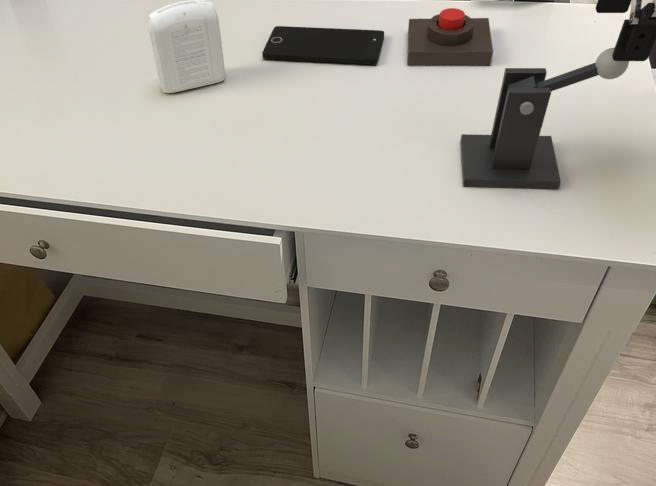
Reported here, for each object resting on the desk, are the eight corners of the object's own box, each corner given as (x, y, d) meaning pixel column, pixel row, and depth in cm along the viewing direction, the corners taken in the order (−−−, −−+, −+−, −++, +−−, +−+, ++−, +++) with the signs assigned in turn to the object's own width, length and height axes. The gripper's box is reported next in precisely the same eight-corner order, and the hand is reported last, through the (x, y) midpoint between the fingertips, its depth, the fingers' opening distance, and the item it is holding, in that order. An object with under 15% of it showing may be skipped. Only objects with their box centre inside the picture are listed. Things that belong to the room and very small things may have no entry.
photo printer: (222, 68, 104) (211, -11, 95) (229, 82, 101) (218, 2, 92) (158, 83, 103) (140, 5, 93) (163, 98, 100) (146, 18, 91)
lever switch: (627, 62, 72) (623, 37, 70) (633, 78, 70) (629, 53, 68) (513, 101, 78) (506, 79, 76) (516, 117, 76) (509, 95, 74)
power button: (462, 19, 100) (464, 7, 99) (463, 31, 98) (465, 19, 96) (438, 19, 100) (439, 8, 99) (438, 31, 98) (439, 20, 97)
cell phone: (274, 31, 110) (274, 25, 109) (384, 35, 106) (385, 30, 105) (261, 59, 104) (261, 53, 104) (376, 65, 100) (377, 60, 99)
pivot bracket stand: (549, 143, 85) (574, 58, 76) (558, 189, 79) (586, 103, 70) (460, 141, 87) (474, 58, 78) (462, 186, 81) (478, 102, 72)
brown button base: (486, 31, 104) (490, 6, 101) (490, 65, 98) (495, 40, 95) (407, 31, 106) (410, 7, 103) (407, 65, 100) (409, 40, 97)
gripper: (771, -124, 50) (679, 81, 63) (708, -191, 61) (640, -5, 74) (663, -121, 51) (594, 80, 64) (620, -187, 62) (568, -5, 75)
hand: (619, 34), depth 69 cm, fingers open, 9 cm apart
